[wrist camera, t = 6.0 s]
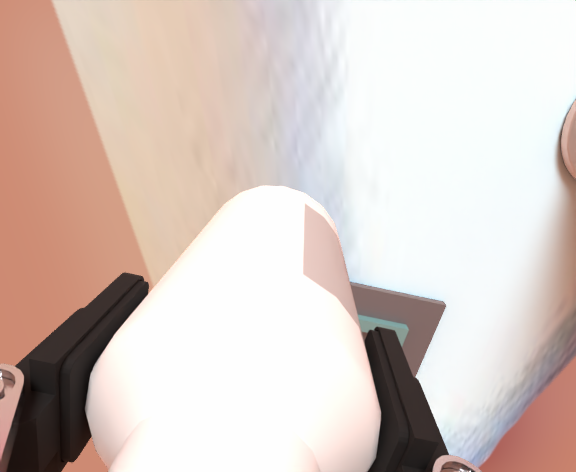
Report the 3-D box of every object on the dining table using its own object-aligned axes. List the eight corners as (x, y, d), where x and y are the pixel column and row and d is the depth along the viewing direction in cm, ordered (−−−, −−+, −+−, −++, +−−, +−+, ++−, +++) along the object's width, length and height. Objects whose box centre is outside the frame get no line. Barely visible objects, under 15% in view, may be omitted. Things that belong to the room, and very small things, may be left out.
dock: (443, 301, 41) (449, 310, 39) (389, 427, 47) (392, 438, 46) (274, 265, 40) (273, 272, 38) (244, 398, 47) (242, 409, 45)
